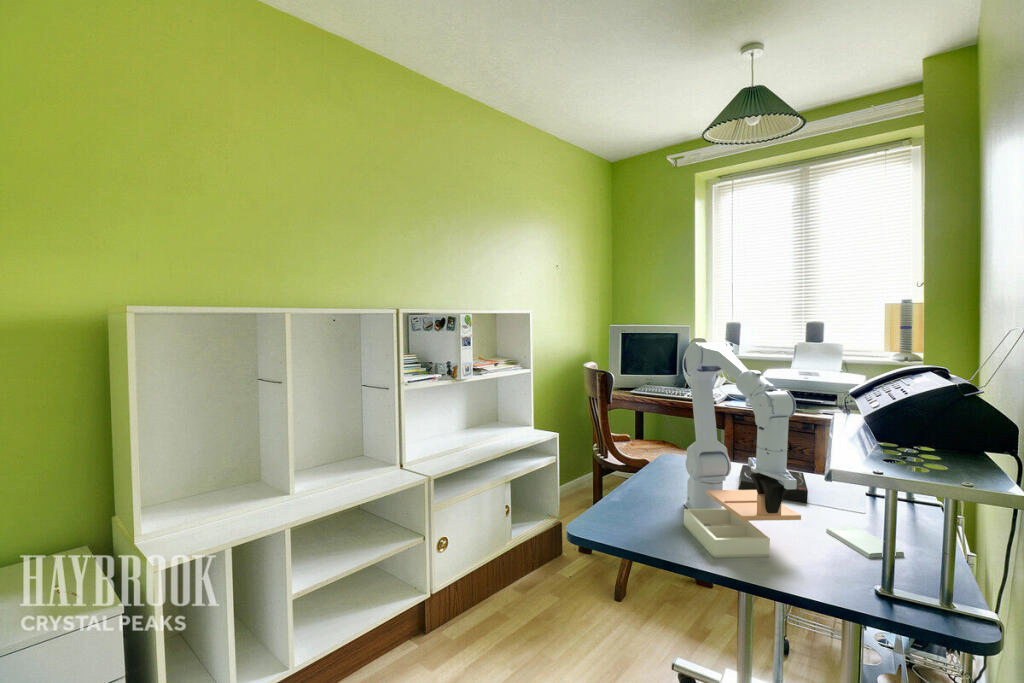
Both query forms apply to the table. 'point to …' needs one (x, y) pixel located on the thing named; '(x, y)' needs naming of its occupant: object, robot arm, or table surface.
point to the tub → (726, 533)
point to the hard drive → (860, 541)
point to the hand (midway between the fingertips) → (769, 510)
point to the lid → (750, 505)
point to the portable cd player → (792, 494)
